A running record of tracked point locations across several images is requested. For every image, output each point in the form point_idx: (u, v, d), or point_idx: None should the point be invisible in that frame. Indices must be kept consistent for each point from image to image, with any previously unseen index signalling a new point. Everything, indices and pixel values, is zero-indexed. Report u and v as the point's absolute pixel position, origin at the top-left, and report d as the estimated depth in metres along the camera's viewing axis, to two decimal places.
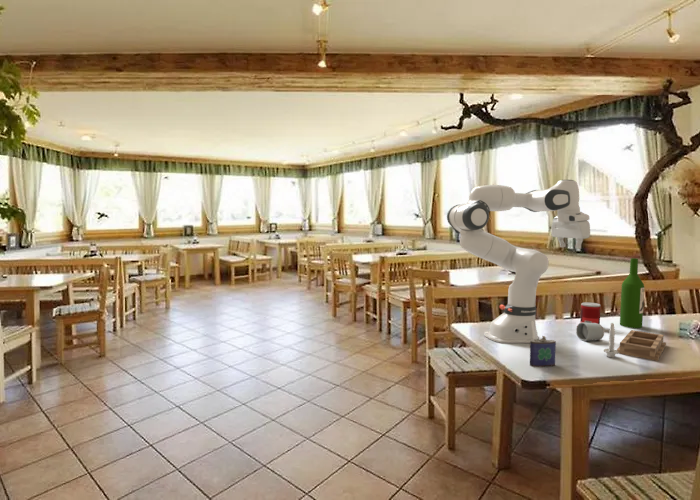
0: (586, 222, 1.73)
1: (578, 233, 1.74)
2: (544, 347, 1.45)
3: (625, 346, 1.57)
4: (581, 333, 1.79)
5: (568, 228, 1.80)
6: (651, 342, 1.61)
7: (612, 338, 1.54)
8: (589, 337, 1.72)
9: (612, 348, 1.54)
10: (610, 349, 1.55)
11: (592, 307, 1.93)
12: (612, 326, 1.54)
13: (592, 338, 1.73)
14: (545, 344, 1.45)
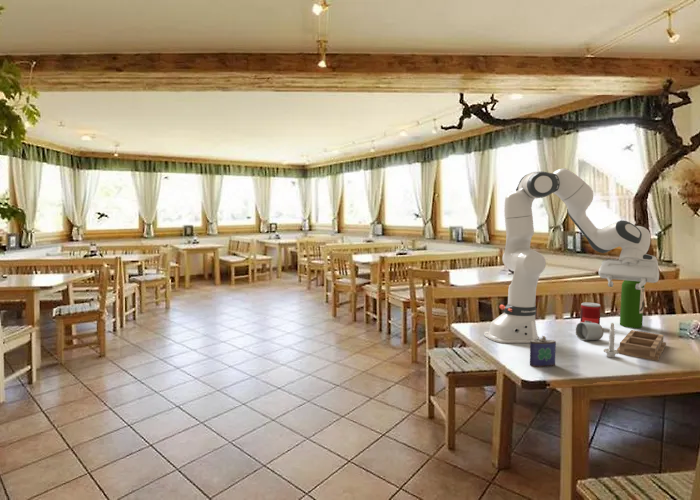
0: None
1: (650, 272, 1.59)
2: (544, 347, 1.45)
3: (625, 346, 1.57)
4: (580, 333, 1.79)
5: (632, 267, 1.64)
6: (651, 342, 1.61)
7: (612, 338, 1.54)
8: (588, 337, 1.73)
9: (612, 348, 1.54)
10: (610, 349, 1.55)
11: (592, 307, 1.93)
12: (612, 326, 1.54)
13: (591, 338, 1.73)
14: (545, 344, 1.45)
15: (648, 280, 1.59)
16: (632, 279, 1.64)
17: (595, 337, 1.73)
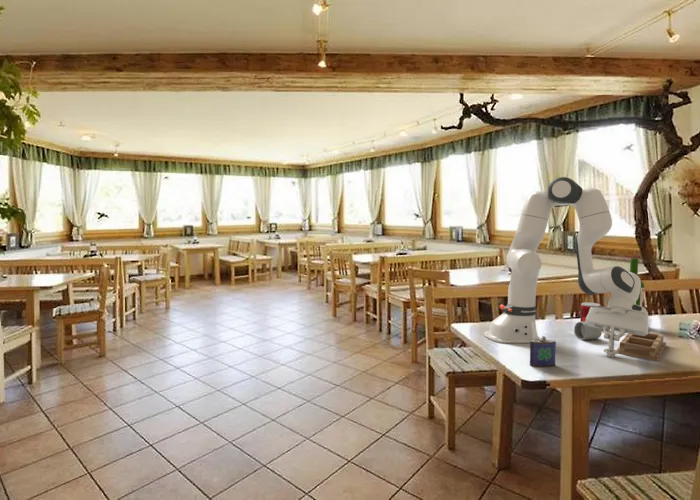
0: None
1: (639, 324, 1.51)
2: (544, 347, 1.45)
3: (625, 346, 1.57)
4: (579, 332, 1.80)
5: (620, 318, 1.56)
6: (651, 342, 1.61)
7: (612, 338, 1.54)
8: (587, 336, 1.74)
9: (612, 348, 1.54)
10: (610, 349, 1.55)
11: None
12: (612, 326, 1.54)
13: (590, 337, 1.74)
14: (545, 344, 1.45)
15: (637, 333, 1.51)
16: None
17: (593, 336, 1.74)
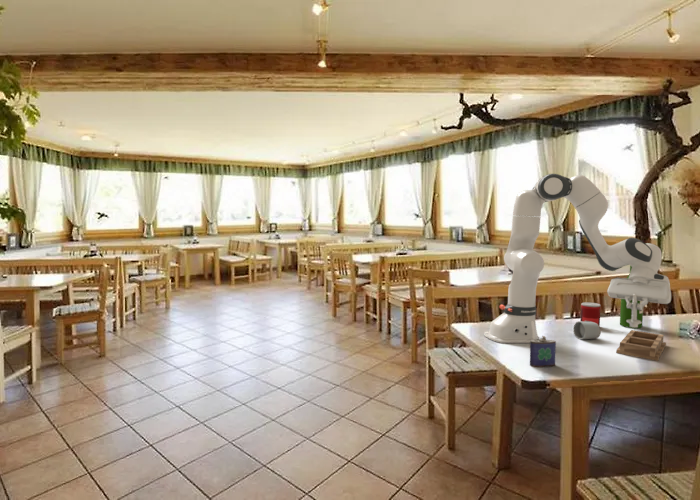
0: None
1: (662, 293, 1.52)
2: (544, 347, 1.45)
3: (625, 346, 1.57)
4: (578, 332, 1.81)
5: (643, 287, 1.58)
6: (651, 342, 1.61)
7: (635, 308, 1.56)
8: (586, 336, 1.74)
9: (635, 318, 1.56)
10: (633, 319, 1.57)
11: (592, 307, 1.93)
12: (634, 296, 1.56)
13: (589, 336, 1.75)
14: (545, 344, 1.45)
15: (660, 301, 1.53)
16: None
17: (592, 336, 1.75)
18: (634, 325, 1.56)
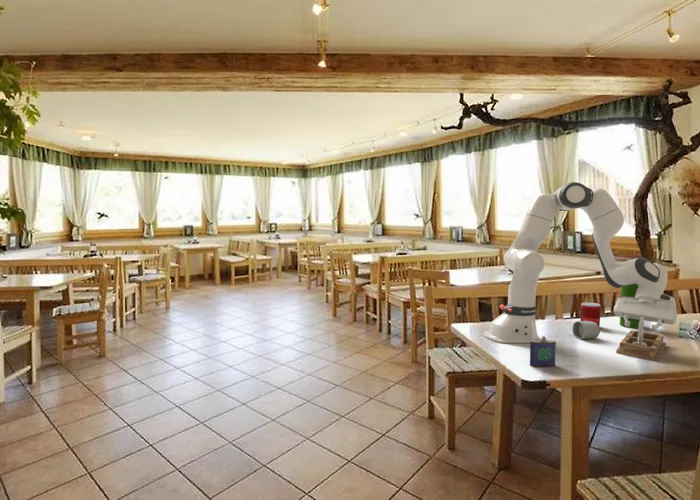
0: None
1: (668, 313, 1.55)
2: (544, 347, 1.45)
3: (625, 346, 1.57)
4: (577, 331, 1.81)
5: (649, 307, 1.60)
6: (651, 342, 1.61)
7: (641, 331, 1.58)
8: (585, 335, 1.75)
9: (641, 341, 1.59)
10: (639, 342, 1.59)
11: (592, 307, 1.93)
12: (641, 319, 1.58)
13: (588, 336, 1.75)
14: (545, 344, 1.45)
15: (666, 322, 1.55)
16: (649, 319, 1.60)
17: (591, 336, 1.75)
18: None
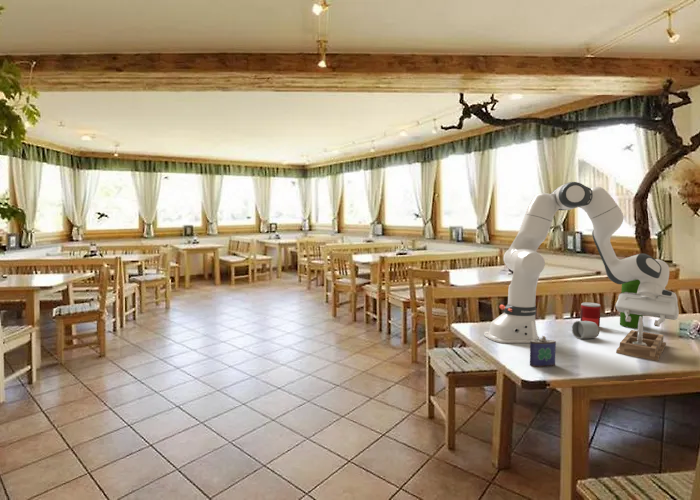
0: None
1: (669, 309, 1.56)
2: (544, 347, 1.45)
3: (625, 346, 1.57)
4: (577, 331, 1.82)
5: (651, 303, 1.61)
6: (651, 342, 1.61)
7: (641, 331, 1.58)
8: (584, 335, 1.75)
9: (640, 341, 1.59)
10: (638, 342, 1.59)
11: (592, 307, 1.93)
12: (640, 319, 1.58)
13: (587, 336, 1.75)
14: (545, 344, 1.45)
15: (667, 317, 1.56)
16: (650, 315, 1.61)
17: (591, 335, 1.76)
18: None
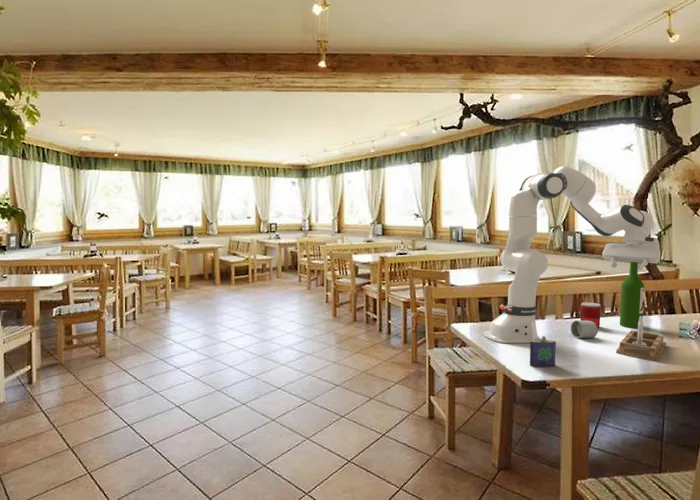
0: None
1: (652, 253, 1.67)
2: (544, 347, 1.45)
3: (625, 346, 1.57)
4: (575, 331, 1.82)
5: (635, 249, 1.72)
6: (651, 342, 1.61)
7: (641, 331, 1.58)
8: (583, 334, 1.76)
9: (640, 341, 1.59)
10: (638, 342, 1.59)
11: (592, 307, 1.93)
12: (640, 319, 1.58)
13: (586, 335, 1.76)
14: (545, 344, 1.45)
15: (650, 261, 1.67)
16: (634, 260, 1.72)
17: (589, 335, 1.76)
18: None
